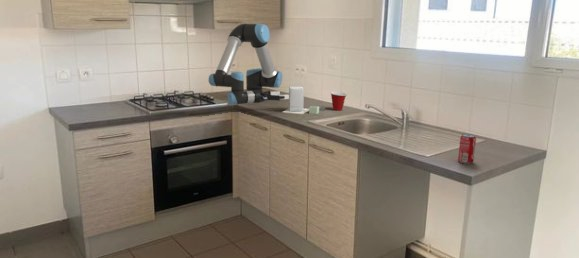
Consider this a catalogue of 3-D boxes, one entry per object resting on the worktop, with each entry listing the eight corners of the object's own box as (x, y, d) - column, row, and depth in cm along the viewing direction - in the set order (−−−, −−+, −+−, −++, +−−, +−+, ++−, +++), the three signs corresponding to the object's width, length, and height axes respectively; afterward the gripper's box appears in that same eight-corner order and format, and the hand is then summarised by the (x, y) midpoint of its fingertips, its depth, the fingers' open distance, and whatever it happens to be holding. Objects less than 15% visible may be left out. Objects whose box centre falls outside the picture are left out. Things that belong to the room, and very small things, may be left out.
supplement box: (303, 111, 283) (304, 88, 279) (289, 111, 282) (290, 88, 278) (302, 108, 292) (302, 86, 288) (288, 108, 291) (289, 86, 287)
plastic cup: (345, 112, 286) (346, 94, 283) (328, 111, 288) (329, 93, 286) (346, 109, 297) (347, 91, 294) (330, 108, 299) (331, 91, 296)
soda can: (455, 162, 189) (458, 135, 186) (460, 158, 194) (463, 132, 191) (470, 165, 186) (473, 137, 183) (475, 161, 190) (478, 134, 187)
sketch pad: (291, 108, 296) (291, 107, 296) (309, 110, 292) (309, 108, 292) (282, 113, 282) (282, 111, 282) (301, 115, 278) (301, 113, 277)
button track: (313, 110, 293) (313, 106, 292) (324, 111, 290) (324, 107, 290) (306, 114, 280) (306, 110, 279) (318, 115, 277) (318, 111, 277)
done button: (311, 111, 285) (311, 105, 284) (319, 112, 283) (319, 106, 282) (309, 113, 280) (309, 106, 279) (316, 114, 279) (317, 107, 278)
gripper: (246, 99, 284) (276, 97, 292) (260, 106, 262) (292, 104, 271) (245, 87, 282) (276, 86, 291) (260, 94, 260) (292, 92, 269)
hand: (284, 94), depth 281 cm, fingers open, 13 cm apart
